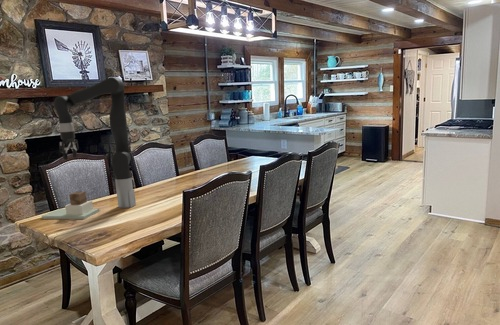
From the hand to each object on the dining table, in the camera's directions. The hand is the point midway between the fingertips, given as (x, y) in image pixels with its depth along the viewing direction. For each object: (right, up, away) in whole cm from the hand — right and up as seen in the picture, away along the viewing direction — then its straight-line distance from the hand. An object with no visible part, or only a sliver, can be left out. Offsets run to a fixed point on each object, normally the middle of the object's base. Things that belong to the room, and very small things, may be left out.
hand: (70, 158), depth 224 cm
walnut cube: (+10, -25, -11) cm, 29 cm away
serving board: (+5, -32, -10) cm, 34 cm away
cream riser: (+10, -30, -10) cm, 33 cm away
